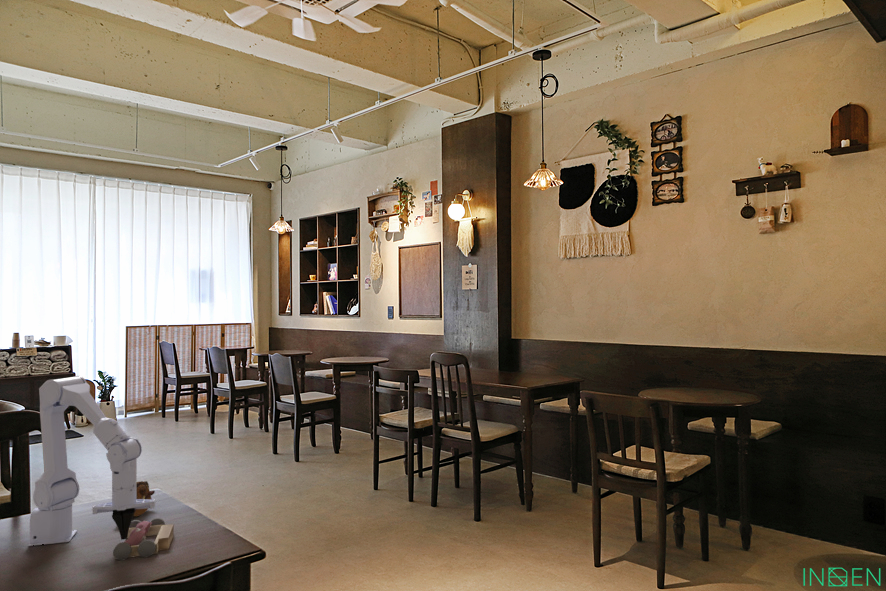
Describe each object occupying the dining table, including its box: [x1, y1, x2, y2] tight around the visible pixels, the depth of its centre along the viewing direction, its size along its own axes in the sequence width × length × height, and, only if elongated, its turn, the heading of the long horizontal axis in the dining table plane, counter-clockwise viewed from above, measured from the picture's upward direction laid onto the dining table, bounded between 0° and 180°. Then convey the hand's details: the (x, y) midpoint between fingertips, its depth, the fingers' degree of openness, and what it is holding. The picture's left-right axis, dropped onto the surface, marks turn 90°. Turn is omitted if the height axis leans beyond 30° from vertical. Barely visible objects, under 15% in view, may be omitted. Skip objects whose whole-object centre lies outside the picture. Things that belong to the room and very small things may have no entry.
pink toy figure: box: [124, 520, 152, 546], centre depth 161 cm, size 10×5×7 cm, turn 12°
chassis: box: [112, 517, 175, 561], centre depth 161 cm, size 12×18×4 cm
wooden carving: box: [133, 480, 156, 517], centre depth 183 cm, size 16×5×10 cm, turn 178°
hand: (124, 537), depth 159 cm, fingers closed
